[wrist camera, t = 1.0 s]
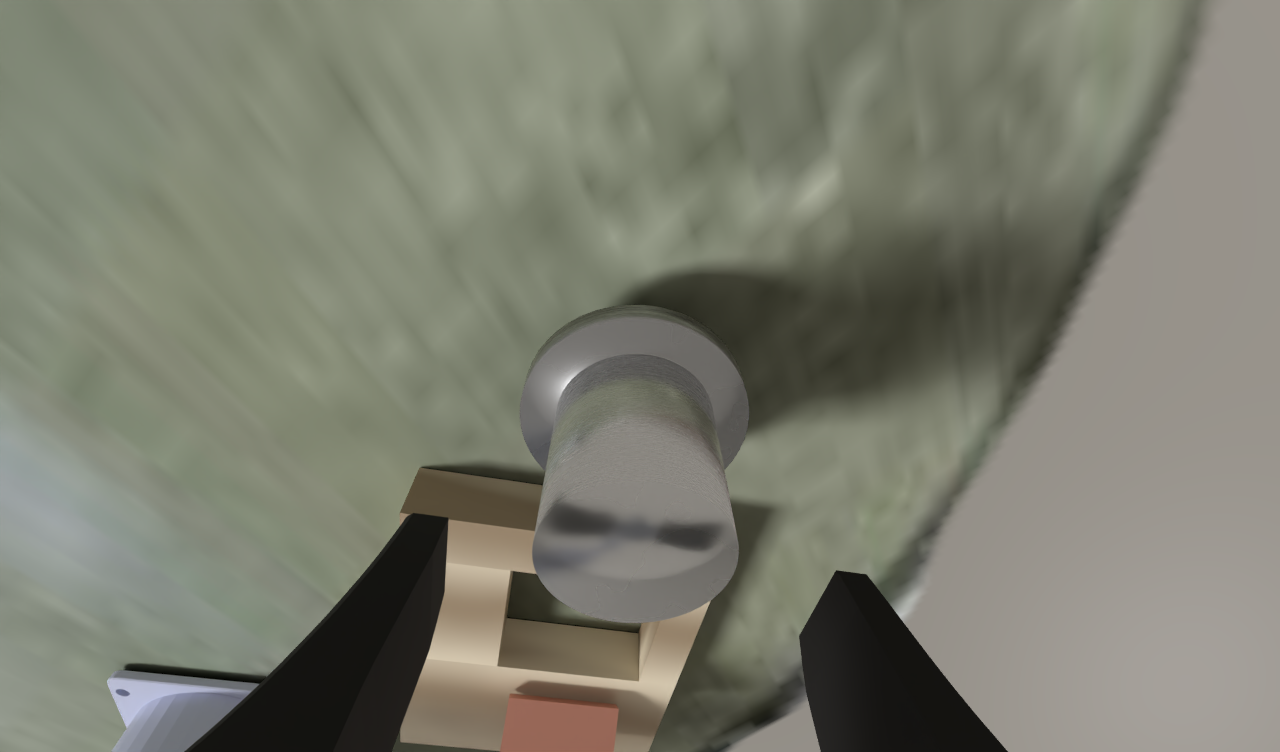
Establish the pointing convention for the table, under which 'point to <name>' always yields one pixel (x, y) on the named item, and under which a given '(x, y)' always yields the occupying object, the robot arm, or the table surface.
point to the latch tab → (558, 725)
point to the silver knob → (634, 462)
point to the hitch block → (523, 630)
